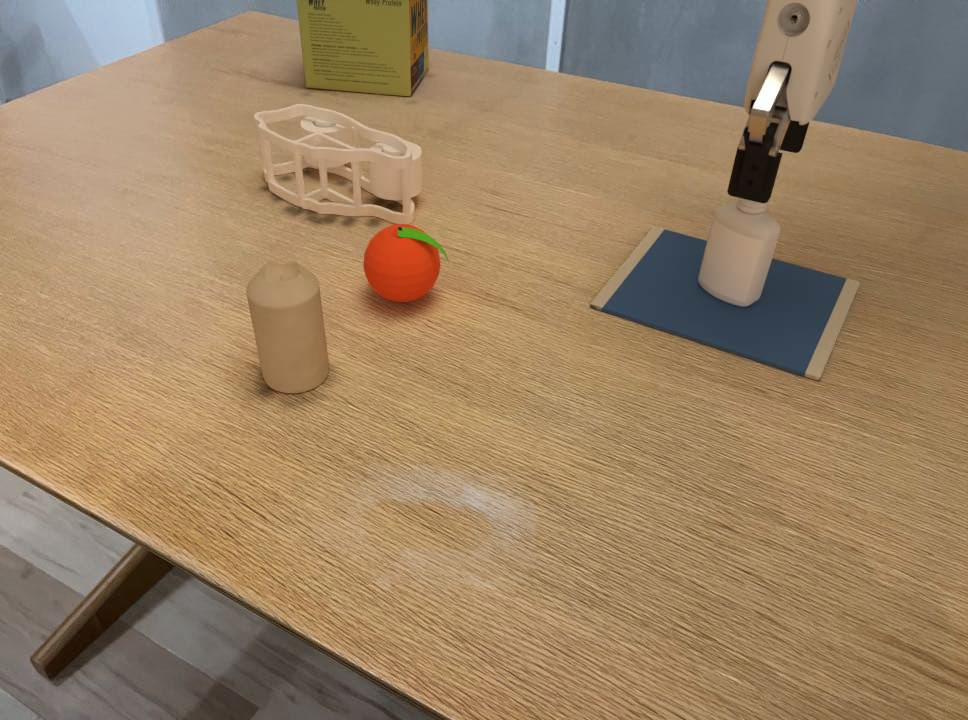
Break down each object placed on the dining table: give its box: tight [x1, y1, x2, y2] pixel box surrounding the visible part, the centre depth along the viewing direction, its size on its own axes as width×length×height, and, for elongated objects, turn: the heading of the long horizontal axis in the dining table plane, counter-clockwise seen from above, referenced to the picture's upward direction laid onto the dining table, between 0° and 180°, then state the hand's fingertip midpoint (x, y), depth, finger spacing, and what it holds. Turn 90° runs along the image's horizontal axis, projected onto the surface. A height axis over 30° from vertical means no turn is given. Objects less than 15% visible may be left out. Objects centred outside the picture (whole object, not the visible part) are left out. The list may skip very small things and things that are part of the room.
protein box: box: [296, 0, 430, 97], centre depth 111 cm, size 10×15×16 cm
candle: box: [245, 260, 330, 394], centre depth 65 cm, size 6×6×10 cm
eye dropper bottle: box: [698, 198, 781, 307], centre depth 71 cm, size 4×6×12 cm
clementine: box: [363, 224, 450, 303], centre depth 74 cm, size 8×7×7 cm
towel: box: [589, 225, 861, 382], centre depth 75 cm, size 20×16×1 cm
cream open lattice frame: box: [253, 103, 423, 225], centre depth 88 cm, size 20×11×7 cm, turn 46°
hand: (765, 172), depth 67 cm, fingers open, 9 cm apart
